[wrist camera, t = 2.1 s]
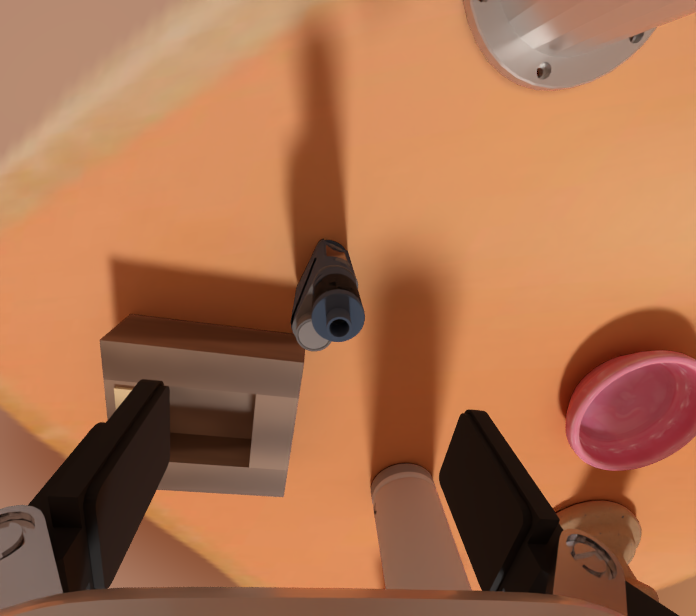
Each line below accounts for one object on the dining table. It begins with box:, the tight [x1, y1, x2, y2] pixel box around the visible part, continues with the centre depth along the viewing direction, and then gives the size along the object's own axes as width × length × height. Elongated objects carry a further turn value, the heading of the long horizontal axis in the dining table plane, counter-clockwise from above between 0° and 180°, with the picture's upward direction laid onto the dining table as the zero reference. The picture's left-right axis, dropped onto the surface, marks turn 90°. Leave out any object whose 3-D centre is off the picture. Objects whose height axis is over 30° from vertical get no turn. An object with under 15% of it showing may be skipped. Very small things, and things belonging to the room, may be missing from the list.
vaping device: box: [291, 239, 365, 351], centre depth 21 cm, size 3×5×12 cm, turn 153°
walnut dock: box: [100, 314, 305, 497], centre depth 28 cm, size 13×13×4 cm
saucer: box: [566, 350, 696, 471], centre depth 32 cm, size 12×12×3 cm
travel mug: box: [371, 463, 472, 591], centre depth 26 cm, size 6×7×20 cm
